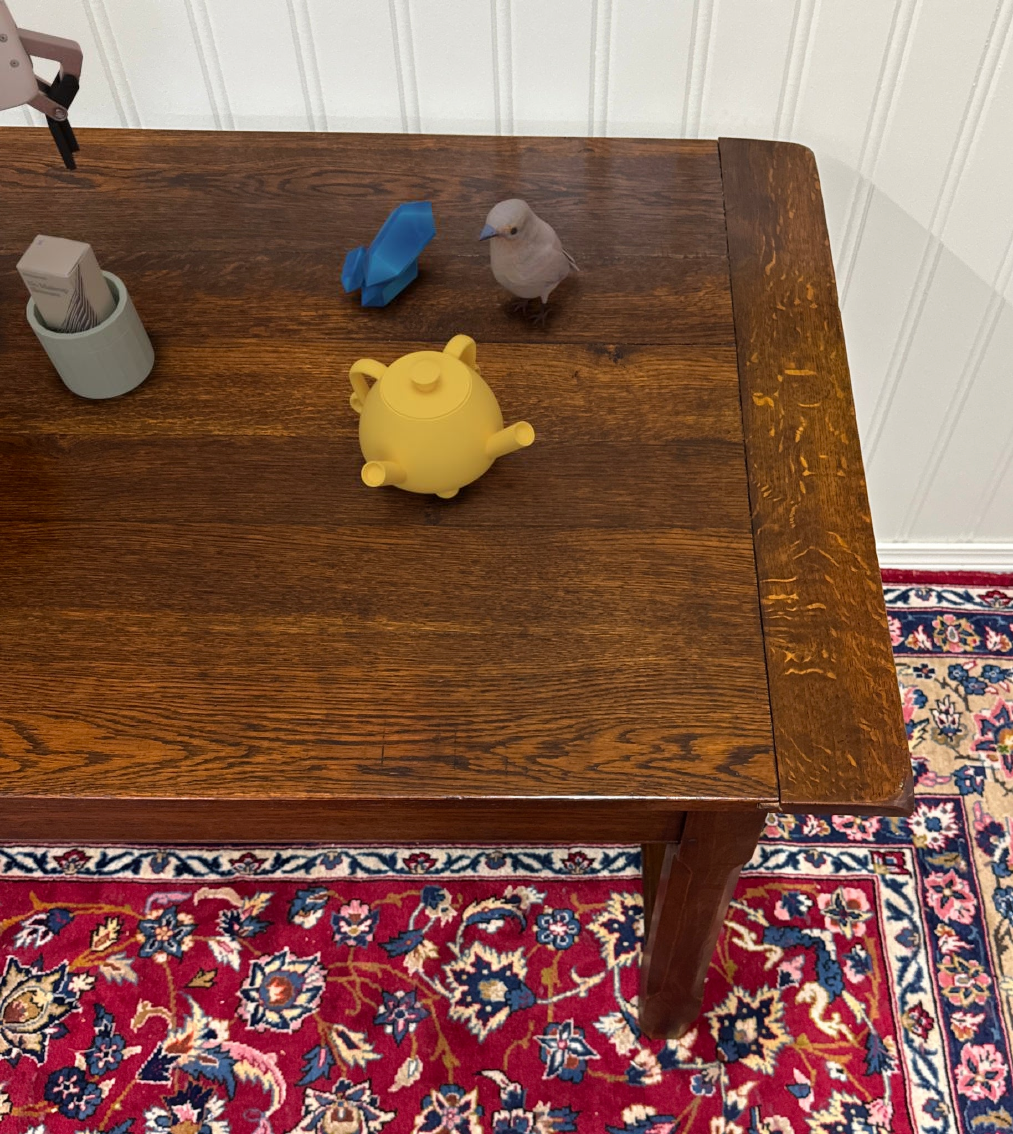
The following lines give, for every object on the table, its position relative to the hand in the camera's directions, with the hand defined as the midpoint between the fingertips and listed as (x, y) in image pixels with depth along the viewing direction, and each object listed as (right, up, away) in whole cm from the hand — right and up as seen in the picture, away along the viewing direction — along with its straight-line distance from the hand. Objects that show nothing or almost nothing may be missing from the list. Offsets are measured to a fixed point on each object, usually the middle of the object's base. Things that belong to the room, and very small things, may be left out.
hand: (7, 175), depth 77 cm
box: (0, -11, +18) cm, 21 cm away
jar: (0, -11, +19) cm, 22 cm away
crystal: (+27, -2, +24) cm, 36 cm away
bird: (+41, -5, +22) cm, 47 cm away
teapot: (+33, -21, +12) cm, 41 cm away
